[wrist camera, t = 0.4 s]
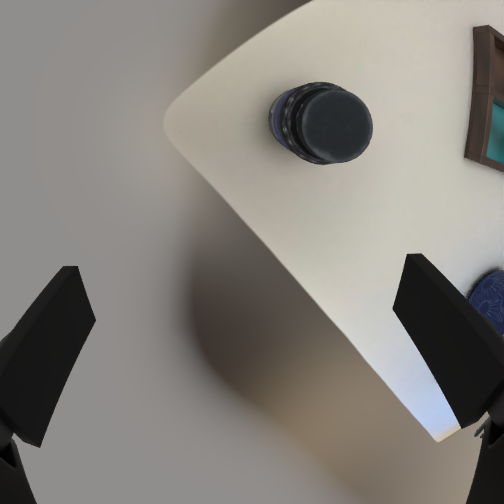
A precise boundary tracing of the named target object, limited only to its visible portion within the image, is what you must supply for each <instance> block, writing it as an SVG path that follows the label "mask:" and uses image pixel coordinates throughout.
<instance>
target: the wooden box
mask: <svg viewBox="0 0 504 504" xmlns="http://www.w3.org/2000/svg"><path fill="white" fill-rule="evenodd" d="M473 30H474V75H473V92H472V104H471V114H470V122H469V130H468V137H467V143H466V149H465V155H464V157H465V158H467V159H470V160H473V161H475V162H478V163H481V164H483V165H486V166H489V167H491V168H494V169H496V170H499V171H501V172H504V36H503V35H502V34H501V33H499V32H498V31H496V30H495V29H494V28H492V27H491V26H489V25H485V26H479V27H473Z"/></svg>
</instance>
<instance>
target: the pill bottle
mask: <svg viewBox="0 0 504 504" xmlns="http://www.w3.org/2000/svg"><path fill="white" fill-rule="evenodd" d="M269 125H270V129H271V132H272V134H273V135H274V137H275V138H276V140H277V141H278V142H279V143H280V144H282V145H283V146H285V147H286V148H287V149H289V150H290V151H292V152H293V153H294V154H296V155H297V156H298V157H300V158H301V159H303V160H306V161H308V162H310V163H314V164H319V165H327V164H333V163H343V162H348V161H351V160H353V159H355V158H357V157H358V156H359V155H361V154H362V153H363V152H364V151H365V149H366V148H367V147H368V145H369V143H370V139H371V137H372V132H373V124H372V118H371V115H370V113H369V110H368V108H367V107H366V105H365V104H364V103H363V102H362V101H361V99H359V98H358V97H357V96H356V95H354V94H352V93H350V92H348V91H346V90H345V89H343V88H341V87H340V86H337V85H335V84H332V83H326V82H314V83H308V84H306V85H303V86H300V87H297V88H294V89H292V90H289V91H286V92H285V93H283V94H282V95H280V96H279V97H278V98H277V99H276V100H275V102H274V103H273V105H272V107H271V109H270V112H269Z"/></svg>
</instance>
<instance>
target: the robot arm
mask: <svg viewBox="0 0 504 504" xmlns="http://www.w3.org/2000/svg"><path fill="white" fill-rule="evenodd" d="M393 311H394V312H395V314H396V315H397V317H398V318H399V320H400V321H401V323H402V325H403V326H404V328H405V329H406V331H407V333H408V334H409V336H410V337H411V339H412V341H413V342H414V344H415V345H416V347H417V349H418V350H419V352H420V354H421V355H422V357H423V359H424V360H425V362H426V364H427V366H428V367H429V369H430V371H431V372H432V374H433V376H434V378H435V379H436V381H437V383H438V385H439V387H440V388H441V390H442V392H443V394H444V396H445V398H446V399H447V401H448V403H449V405H450V407H451V409H452V411H453V413H454V415H455V416H456V418H457V420H458V422H459V424H460V426H461V428H462V429H463V428H465V427H467V426H469V425H471V424H473V423H476V422H477V421H478V420H479V419H480V418H481V417H482V416H483V415H484V413H485V412H486V411H487V412H488V414H489V415H490V416H489V417H488V419H487V420H486V421H485V422H484V423H483V424H482V425H481V426H480V428H479V429H478V430H477V431H476V433H475V435H474V436H475V437H476V436H478V435H479V434H480V433H481V431H482V430H483V429H484V433H483V434H482V435H481V436H480V438H483V439H482V445H481V449H480V454H479V459H478V463H477V467H476V471H475V475H474V478H473V482H472V485H471V489H470V492H469V495H468V498H467V501H466V504H504V336H503V335H502V334H501V332H500V331H498V329H497V328H496V326H495V325H494V324H493V323H492V322H491V321H490V320H489V319H488V318H486V317H485V316H484V315H482V314H481V313H478V312H477V311H476V309H475V308H474V307H473V306H472V305H471V304H470V303H469V302H468V301H467V299H466V298H465V297H464V296H463V295H462V294H461V293H460V292H459V291H458V290H457V289H456V288H455V287H454V285H453V284H452V283H451V282H450V281H449V280H448V279H447V278H446V277H445V276H444V275H443V274H442V273H441V272H440V271H439V270H438V269H437V268H436V267H435V266H434V265H433V264H432V263H431V262H430V261H429V260H428V259H427V258H426V257H425V256H424V255H423V254H422V253H419V254H407V256H406V260H405V264H404V268H403V272H402V276H401V280H400V284H399V288H398V291H397V295H396V298H395V302H394V305H393ZM95 321H96V319H95V316H94V314H93V311H92V308H91V305H90V302H89V300H88V297H87V294H86V291H85V288H84V285H83V282H82V278H81V275H80V272H79V269H78V266H63V267H62V268H61V269H60V271H59V272H58V273H57V274H56V275H55V276H54V277H53V279H52V280H51V281H50V282H49V283H48V285H47V286H46V287H45V288H44V289H43V291H42V292H41V293H40V294H39V296H38V297H37V298H36V299H35V301H34V302H33V303H32V305H31V306H30V307H29V308H28V310H27V311H26V312H25V314H24V315H23V316H22V318H21V319H20V320H19V322H18V323H17V324H16V326H15V327H14V329H13V330H12V331H11V332H10V333H9V334H8V335H7V336H5V337H4V338H3V339H2V340H1V342H0V504H37V503H36V501H35V498H34V496H33V493H32V491H31V488H30V485H29V483H28V480H27V477H26V474H25V471H24V468H23V465H22V462H21V459H20V456H19V452H18V449H17V445H16V443H15V441H14V440H13V439H12V436H13V433H15V434H16V435H17V436H18V437H19V438H20V439H21V440H22V441H23V442H25V443H28V444H31V445H33V446H36V447H39V448H40V446H41V444H42V440H43V438H44V435H45V433H46V430H47V427H48V425H49V422H50V419H51V417H52V414H53V412H54V409H55V407H56V404H57V402H58V400H59V397H60V395H61V393H62V390H63V388H64V386H65V383H66V381H67V379H68V377H69V375H70V372H71V370H72V368H73V366H74V364H75V361H76V359H77V357H78V355H79V353H80V351H81V349H82V347H83V345H84V343H85V341H86V339H87V337H88V335H89V333H90V331H91V329H92V327H93V325H94V323H95Z"/></svg>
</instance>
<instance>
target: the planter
mask: <svg viewBox="0 0 504 504" xmlns="http://www.w3.org/2000/svg"><path fill="white" fill-rule="evenodd" d="M468 302H469V303H470V304H471V305H472V306H473V307H474V308H475V309H476V311H477V312H478V313H481V314H482V315H484V316H485V317H486V318H488V319H489V320H490V321H491V322H492V323H493V324H494V325H495V326H496V328H497V329H498V331H500V332H501V334H502V335H503V336H504V271H496V272H493V273H491V274H489V275H488V276H486V277H485V278H484V279H483V280H482V281H481V282H480V283H479V284H478V285H477V286H476V288H475V289H474V291H473V292H472V294H471V296H470V298H469V300H468Z"/></svg>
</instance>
